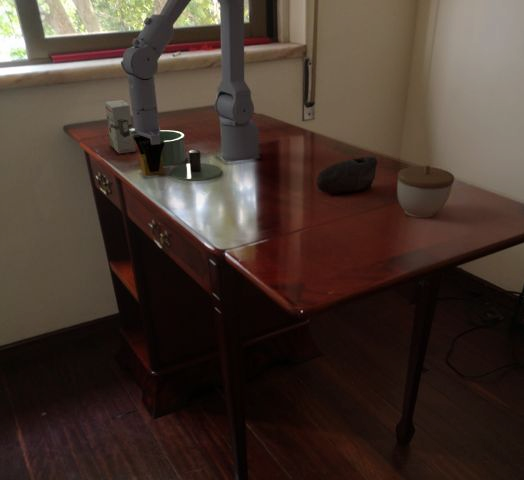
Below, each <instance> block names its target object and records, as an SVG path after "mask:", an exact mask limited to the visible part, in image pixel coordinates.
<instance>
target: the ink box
mask: <svg viewBox="0 0 524 480" xmlns="http://www.w3.org/2000/svg"><path fill="white" fill-rule="evenodd" d="M104 105H105V106H104V107H105V114H106V121H107V128H108V134H109V140H110V146H111V148H113V150H115V151H116V153H118V154H126V153H134V152H136V142H135V140H134V139H133V137H132V136H134V134H131V133H130V132H129V129H133V120H132V114H131V113H132V112H131V105H130V104H128V103H127V102H126V101H124V100H123V99H117V100H109V101H104Z"/></svg>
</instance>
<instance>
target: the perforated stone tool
mask: <svg viewBox="0 0 524 480" xmlns="http://www.w3.org/2000/svg"><path fill="white" fill-rule="evenodd" d="M377 165H378V159H377V158H376V157H375V156H366V157H364V156H363V157H355V158H350V159H346V160H343V161H340V162H339V161H338V162H337V163H334V164H331V165H329V166H327V167H326V168H324V169H323V170H322V171H320V172H319V174H318V176H317V179H316V187H317V188H318V190H320V192H323V193H325V194H348V193H356V192H359V191H362V190H368V189H371V188H372V185H373V182H374V180H375V177H376V171H377V170H376V169H377Z"/></svg>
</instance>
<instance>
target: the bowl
mask: <svg viewBox="0 0 524 480" xmlns="http://www.w3.org/2000/svg"><path fill="white" fill-rule="evenodd" d="M161 140H163V141H164V142H165V144H164V147H163V150H162V153H161V157H162V165H163V167H170V166H176V165H179V164H180V165H181V164H182V163H184V162H186V161H187V151H186V150H187V149H186V139H185V134H184V133H183V132H180V131H177V130H170V129H168V130H167V129H166V130H165V129H164V130H162V129H160V141H161ZM139 155H141V154H140V153H139Z"/></svg>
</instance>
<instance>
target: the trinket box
mask: <svg viewBox="0 0 524 480" xmlns="http://www.w3.org/2000/svg"><path fill="white" fill-rule="evenodd" d="M454 181H455V176H454V175H453V173H451V172H449V171H448V170H444V169H443V168H438V167H432V166H431V165H427V164H426V165H424V166H408V167H405V168H402V169H400V170H399V171H398V173H397V182H396V183H397V185H396V197H397V201H398V204H399V205H400V206H401V208H402V209H403V210H404V211H403V212H404V213H405V215H408V216H410V217H413V218H418V219H419V218H423V219H426V218H431V217H433V216H435V214H437V213H438V212H439V211H440V210H442V208H444V206H446V204H447V202H448V200H449V197H450V195H451V191H452V188H453V184H454Z"/></svg>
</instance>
